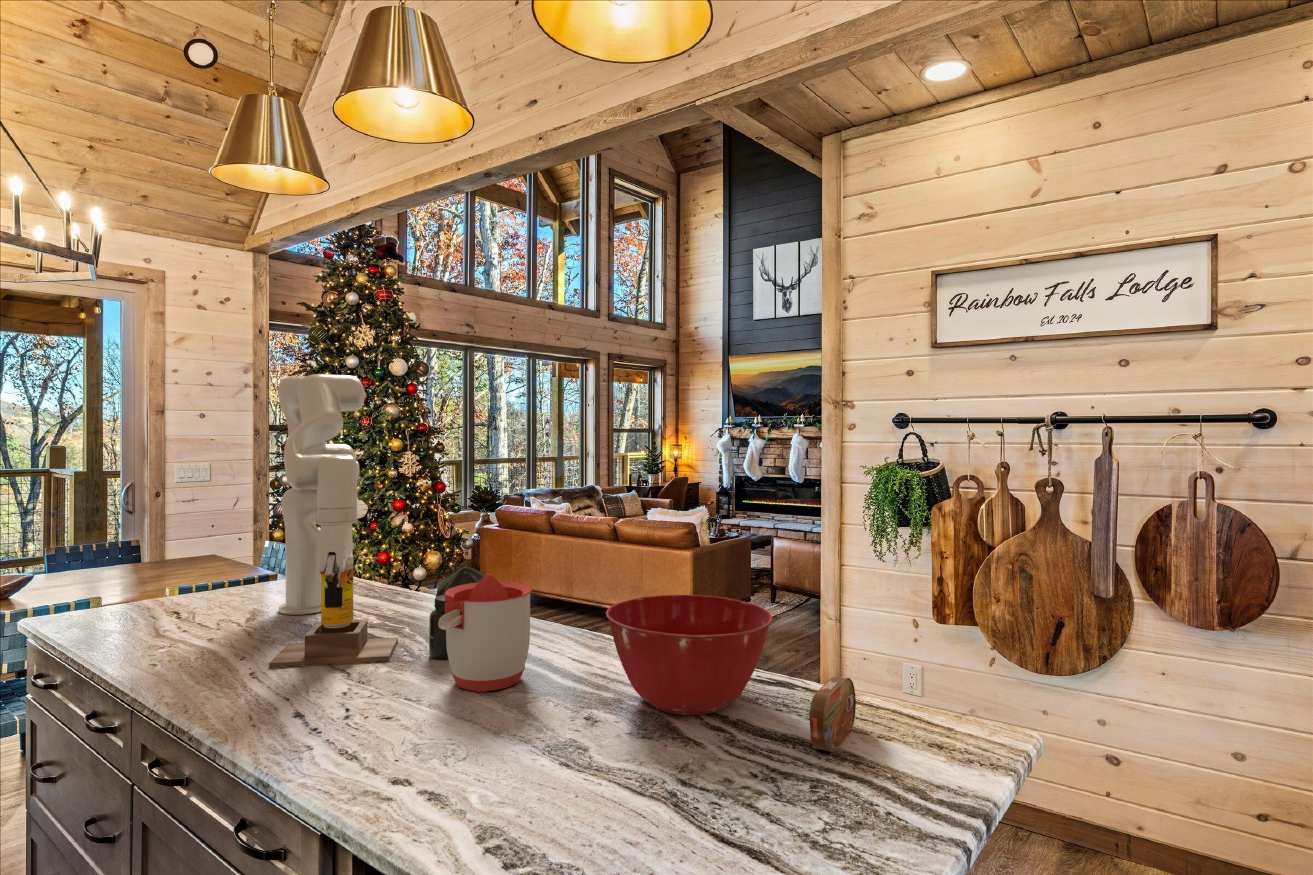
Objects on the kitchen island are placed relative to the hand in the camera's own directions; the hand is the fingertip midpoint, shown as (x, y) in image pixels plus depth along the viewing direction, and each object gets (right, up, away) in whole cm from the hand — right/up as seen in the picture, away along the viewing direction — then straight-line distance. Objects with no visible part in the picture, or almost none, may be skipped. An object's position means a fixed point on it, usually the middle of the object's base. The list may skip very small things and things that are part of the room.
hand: (337, 602), depth 147 cm
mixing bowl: (+71, -12, -24) cm, 76 cm away
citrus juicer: (+34, -11, -16) cm, 39 cm away
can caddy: (0, -11, 0) cm, 11 cm away
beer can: (0, -5, 0) cm, 5 cm away
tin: (+92, -12, -39) cm, 101 cm away
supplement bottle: (+23, -11, 0) cm, 25 cm away
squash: (+21, -11, +23) cm, 33 cm away
